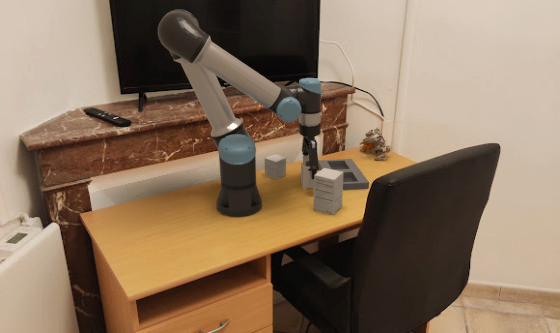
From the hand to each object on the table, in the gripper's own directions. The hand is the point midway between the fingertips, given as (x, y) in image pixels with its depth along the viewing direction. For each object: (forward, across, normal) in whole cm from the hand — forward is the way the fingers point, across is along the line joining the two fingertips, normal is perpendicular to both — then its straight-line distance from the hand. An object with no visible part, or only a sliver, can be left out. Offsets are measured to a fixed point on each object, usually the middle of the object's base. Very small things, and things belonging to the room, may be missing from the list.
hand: (309, 179), depth 172 cm
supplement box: (+3, -19, -3) cm, 19 cm away
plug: (+2, 0, 0) cm, 3 cm away
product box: (+2, +11, +11) cm, 16 cm away
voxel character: (+3, +26, -32) cm, 41 cm away
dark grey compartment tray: (+3, +6, -14) cm, 15 cm away
